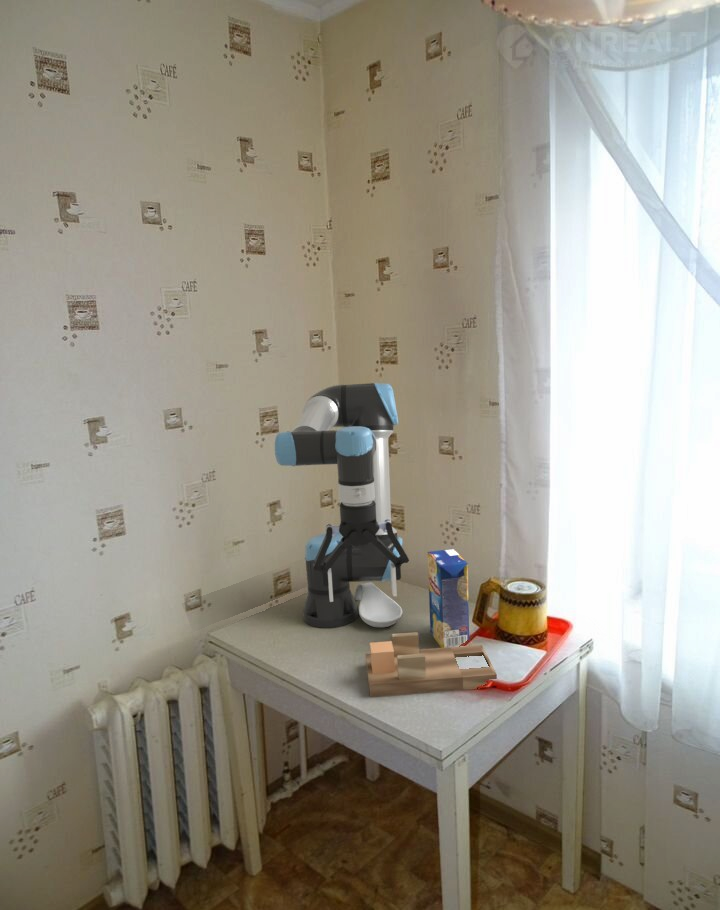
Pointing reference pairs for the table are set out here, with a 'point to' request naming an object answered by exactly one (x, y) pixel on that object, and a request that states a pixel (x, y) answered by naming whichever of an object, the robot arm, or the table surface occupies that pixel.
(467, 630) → the beverage box
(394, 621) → the spoon rest
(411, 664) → the deck
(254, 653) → the table surface
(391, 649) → the block
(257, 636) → the table surface
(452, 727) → the table surface
